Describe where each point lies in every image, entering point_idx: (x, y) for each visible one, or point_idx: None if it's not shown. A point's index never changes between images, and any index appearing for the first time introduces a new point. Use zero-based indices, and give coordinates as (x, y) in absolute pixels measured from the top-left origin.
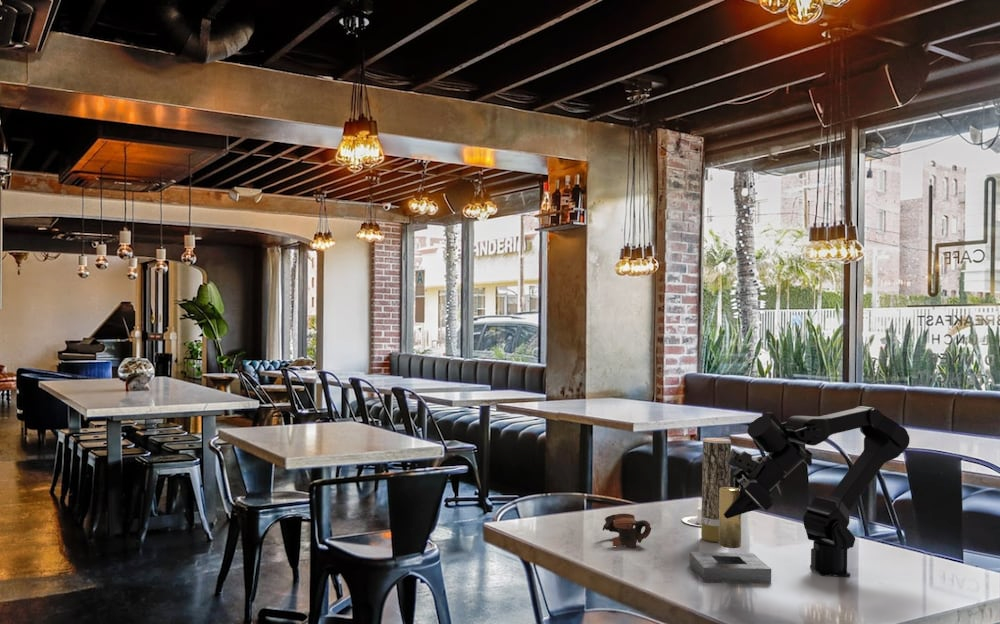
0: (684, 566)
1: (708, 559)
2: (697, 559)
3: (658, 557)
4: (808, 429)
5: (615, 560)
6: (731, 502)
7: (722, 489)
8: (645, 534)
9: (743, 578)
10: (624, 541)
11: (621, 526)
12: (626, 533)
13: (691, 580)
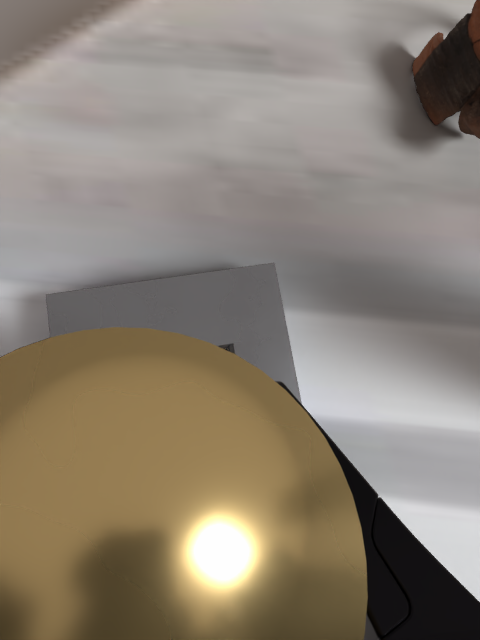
0: (248, 259)
1: (173, 324)
2: (163, 280)
3: (335, 184)
4: None
5: (262, 53)
6: None
7: (35, 384)
8: (476, 124)
9: None
10: (427, 72)
11: (478, 18)
12: (455, 56)
13: (83, 266)
